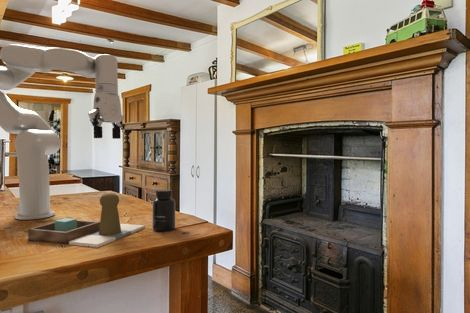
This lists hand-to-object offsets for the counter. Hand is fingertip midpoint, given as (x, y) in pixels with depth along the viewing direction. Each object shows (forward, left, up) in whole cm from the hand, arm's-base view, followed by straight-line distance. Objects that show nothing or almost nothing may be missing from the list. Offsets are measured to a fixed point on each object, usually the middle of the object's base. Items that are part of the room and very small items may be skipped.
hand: (107, 138), depth 123 cm
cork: (+18, -22, -28) cm, 39 cm away
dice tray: (+6, -26, -28) cm, 39 cm away
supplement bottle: (+29, -11, -28) cm, 42 cm away
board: (+18, -22, -28) cm, 40 cm away
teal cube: (+6, -26, -28) cm, 38 cm away
